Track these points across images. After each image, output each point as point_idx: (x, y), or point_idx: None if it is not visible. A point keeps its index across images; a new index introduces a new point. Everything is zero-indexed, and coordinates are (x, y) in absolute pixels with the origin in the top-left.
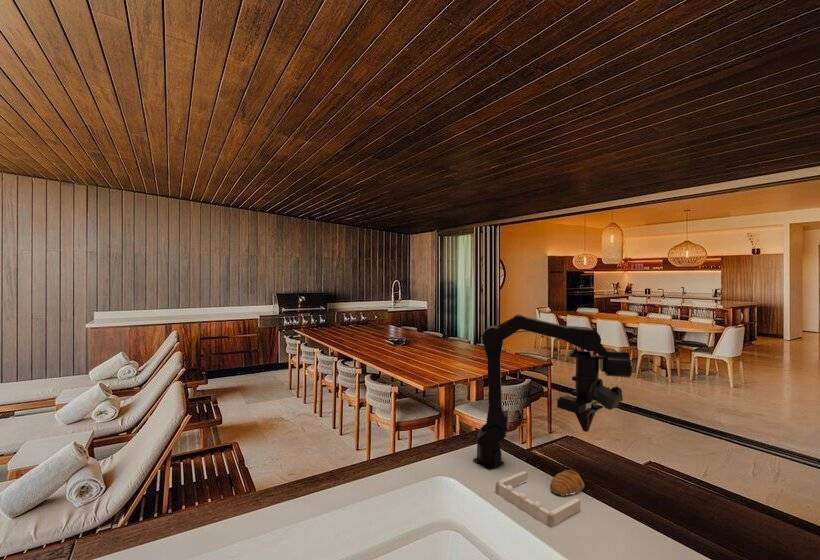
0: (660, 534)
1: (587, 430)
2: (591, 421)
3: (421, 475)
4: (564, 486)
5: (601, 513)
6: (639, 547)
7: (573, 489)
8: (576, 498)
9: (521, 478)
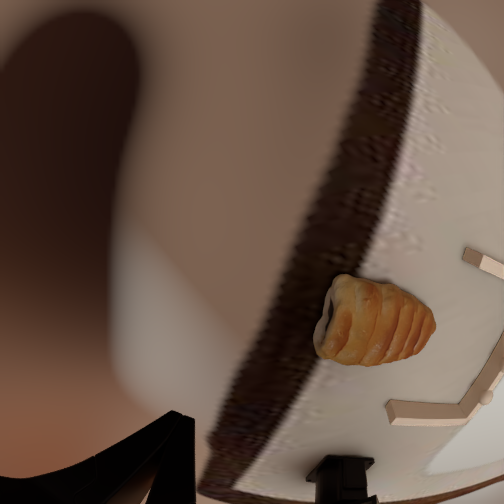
0: (426, 53)
1: (185, 422)
2: (115, 453)
3: (435, 479)
4: (424, 321)
5: (447, 192)
6: (499, 104)
7: (407, 295)
8: (481, 267)
9: (413, 411)
